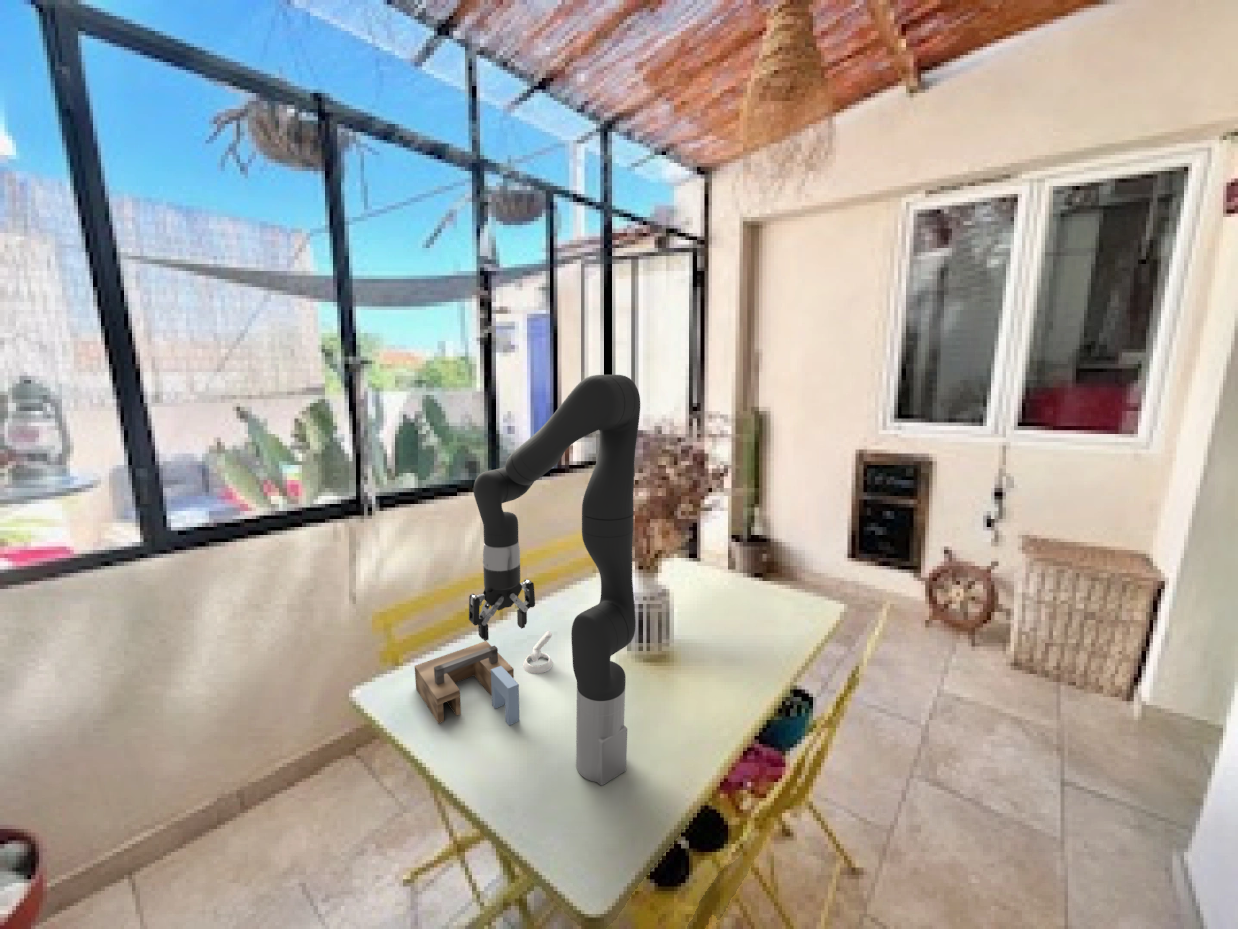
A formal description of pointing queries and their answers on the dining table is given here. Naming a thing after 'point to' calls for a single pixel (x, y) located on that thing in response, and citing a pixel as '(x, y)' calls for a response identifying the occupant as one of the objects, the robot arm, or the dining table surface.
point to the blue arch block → (505, 693)
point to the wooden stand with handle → (456, 675)
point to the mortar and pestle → (538, 654)
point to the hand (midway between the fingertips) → (503, 632)
